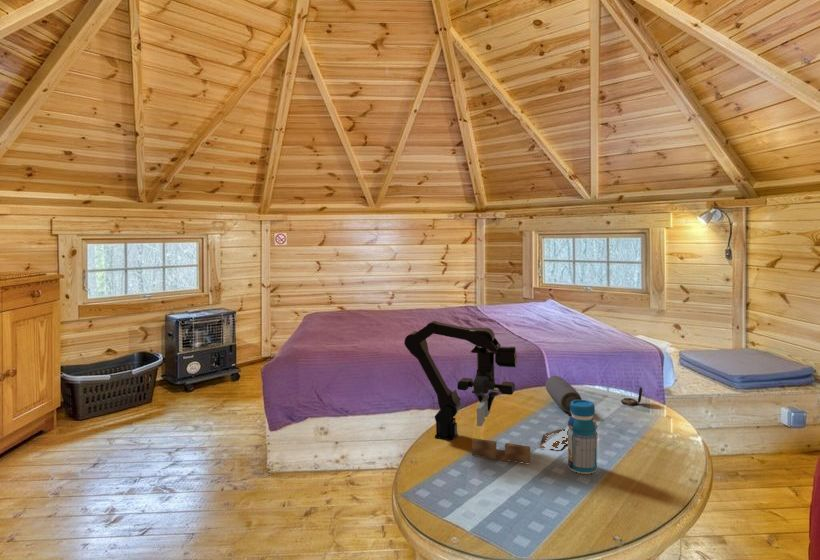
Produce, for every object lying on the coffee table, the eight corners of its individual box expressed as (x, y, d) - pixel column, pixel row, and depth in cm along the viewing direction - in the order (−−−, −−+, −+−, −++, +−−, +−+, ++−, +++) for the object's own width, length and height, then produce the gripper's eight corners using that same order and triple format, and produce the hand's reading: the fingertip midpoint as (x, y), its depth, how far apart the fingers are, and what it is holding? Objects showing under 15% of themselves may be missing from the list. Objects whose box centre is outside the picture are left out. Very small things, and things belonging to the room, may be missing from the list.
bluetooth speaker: (584, 415, 185) (584, 390, 184) (559, 416, 185) (559, 391, 184) (565, 396, 208) (565, 374, 207) (544, 397, 208) (544, 374, 207)
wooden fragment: (555, 455, 152) (555, 452, 152) (526, 444, 161) (526, 441, 161) (595, 432, 169) (595, 429, 169) (567, 424, 177) (567, 421, 177)
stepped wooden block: (472, 455, 153) (472, 440, 153) (473, 453, 155) (473, 438, 154) (529, 464, 146) (529, 448, 146) (530, 462, 147) (530, 446, 147)
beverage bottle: (583, 477, 137) (583, 409, 135) (561, 466, 144) (561, 401, 143) (603, 470, 141) (604, 404, 139) (581, 459, 148) (581, 396, 147)
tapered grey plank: (477, 425, 156) (476, 408, 155) (486, 411, 166) (485, 394, 166) (481, 426, 155) (481, 408, 154) (490, 411, 166) (489, 395, 165)
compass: (621, 400, 202) (621, 383, 201) (642, 402, 198) (642, 385, 197) (620, 406, 195) (620, 388, 194) (641, 408, 191) (642, 390, 190)
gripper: (452, 369, 159) (453, 415, 160) (508, 374, 151) (508, 422, 153) (461, 361, 169) (462, 404, 170) (515, 365, 162) (515, 410, 163)
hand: (486, 410), depth 164 cm, fingers closed on tapered grey plank, 1 cm apart
